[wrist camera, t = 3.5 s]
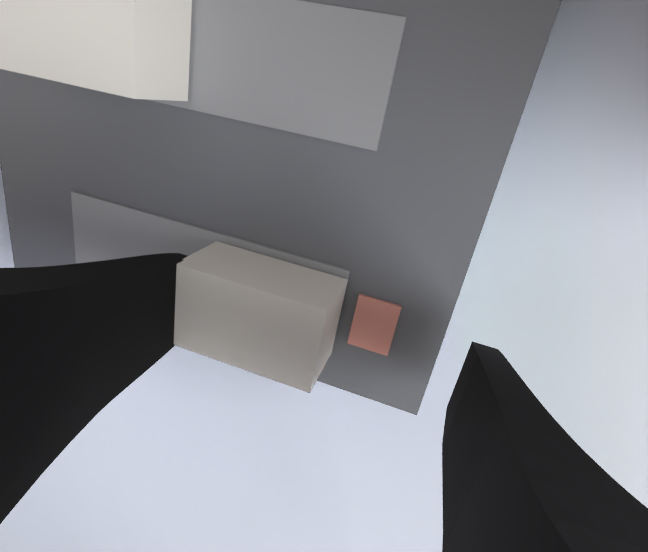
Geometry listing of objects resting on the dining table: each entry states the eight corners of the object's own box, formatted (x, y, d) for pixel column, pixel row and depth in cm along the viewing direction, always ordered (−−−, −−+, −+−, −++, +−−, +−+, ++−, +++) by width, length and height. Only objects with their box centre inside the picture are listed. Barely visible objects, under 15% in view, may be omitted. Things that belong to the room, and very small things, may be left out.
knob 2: (210, 312, 13) (171, 344, 11) (216, 241, 12) (174, 263, 10) (331, 352, 12) (310, 393, 11) (348, 279, 11) (326, 310, 10)
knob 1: (62, 73, 12) (-10, 66, 10) (55, -29, 11) (-27, -58, 9) (187, 101, 11) (134, 99, 9) (192, -8, 10) (133, -33, 8)
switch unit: (44, 265, 17) (13, 277, 15) (-26, -409, 10) (-93, -479, 8) (420, 391, 14) (416, 417, 12) (710, -456, 7) (763, -577, 5)
